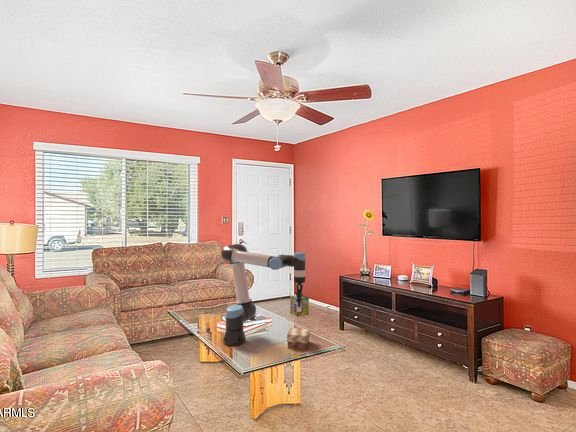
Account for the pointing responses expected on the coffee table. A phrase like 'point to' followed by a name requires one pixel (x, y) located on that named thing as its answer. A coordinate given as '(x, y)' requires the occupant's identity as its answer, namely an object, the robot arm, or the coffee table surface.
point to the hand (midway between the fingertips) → (299, 308)
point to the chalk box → (303, 305)
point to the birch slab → (298, 335)
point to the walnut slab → (298, 345)
